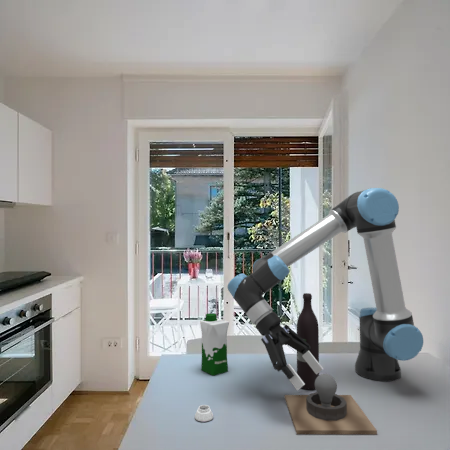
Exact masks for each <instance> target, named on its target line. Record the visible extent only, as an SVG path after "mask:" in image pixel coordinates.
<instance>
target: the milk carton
mask: <svg viewBox="0 0 450 450" xmlns="http://www.w3.org/2000/svg"><path fill="white" fill-rule="evenodd" d="M199 322H200V329H201V331H200V332H201V368H200V369H201V371H203V372H204V373H206V374H208V375H210V376H212V377H214V376H217V375H220V374H223V373H226V372H229V365H228V364H229V363H228V330H229V324H230V321H228V320H225V319H222V318H218V317H217V314H216V313H212V312H210V313H205V319H202V320H200V321H199Z"/></svg>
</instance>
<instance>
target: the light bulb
mask: <svg viewBox="0 0 450 450" xmlns="http://www.w3.org/2000/svg"><path fill="white" fill-rule="evenodd" d="M337 383H338V382H337V380H336V379H335V378H334V377H333V376H332V375H331V374H329V373H321V374H319V376H318V377H317V378H316V380H315V389H314V390H316V392H317V393H318V394H319V396H320V401H321V406H324V407H331V402H332V398H333V396H334V394H336V392H337V390H338V384H337Z"/></svg>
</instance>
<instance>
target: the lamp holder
mask: <svg viewBox="0 0 450 450" xmlns="http://www.w3.org/2000/svg"><path fill="white" fill-rule="evenodd" d="M284 401H285V404H286V407H287V409H288V413H289V416H290V418H291V422H292V424H293V427H294V431H295V434H296V435H378V430H377V428H376V427H375V426H374V424H373V422H371V420H370V419H369V417H368V416H367V415H366V414H365V412H364V410H362V408H361V407H360V405H359V404H358V403H357V401H356V400H355V399H354V397H353V396H352V395H351V394H337V393H335V394H334V396H333V398H332V402H331V407H324V406H321V401H320V396H319V394H318V393H317V391H316V392H311V393H309V394H284Z"/></svg>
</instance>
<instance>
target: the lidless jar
mask: <svg viewBox="0 0 450 450" xmlns="http://www.w3.org/2000/svg"><path fill="white" fill-rule="evenodd" d="M213 419H214V413H213V411H212V410H211V408H210V405H207V404H201V405H199V406H198V407H197V410H196V412H195V414H194V420H196V421H198V422H203V423H205V422H206V423H207V422H209V421H212V420H213Z"/></svg>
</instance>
